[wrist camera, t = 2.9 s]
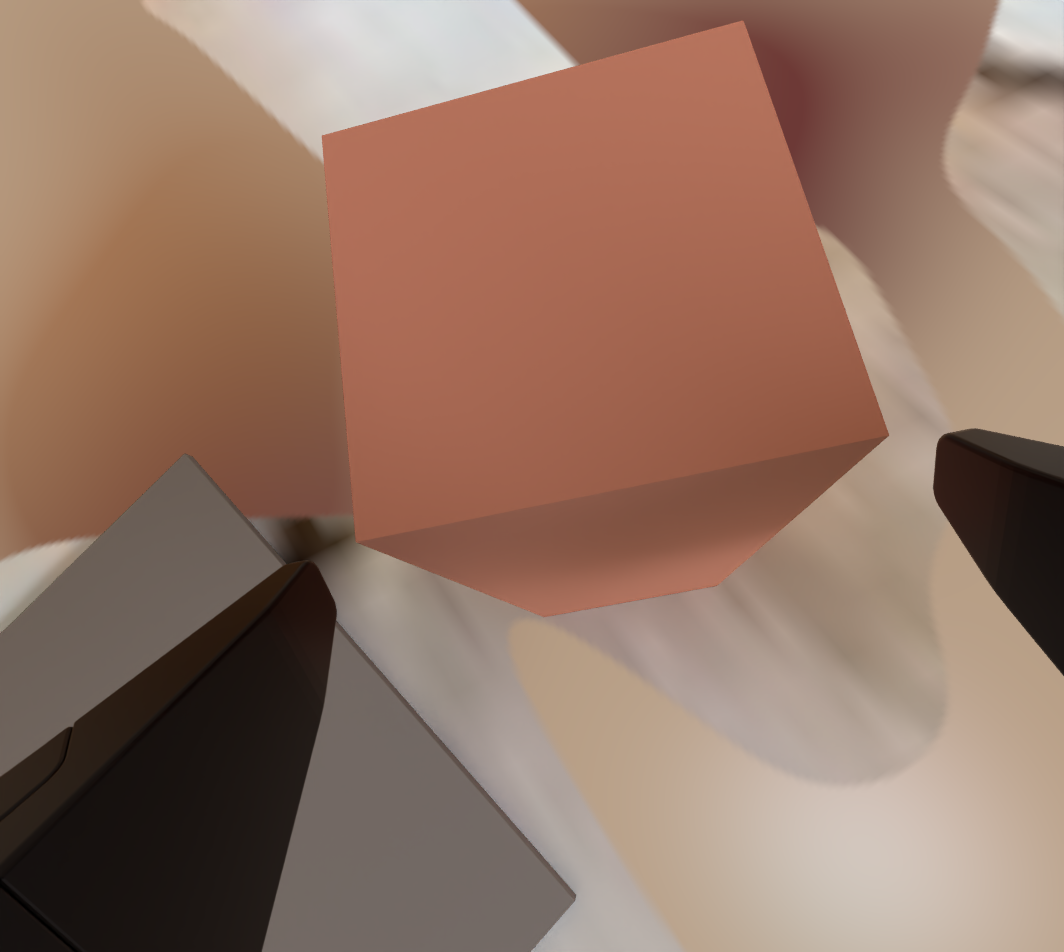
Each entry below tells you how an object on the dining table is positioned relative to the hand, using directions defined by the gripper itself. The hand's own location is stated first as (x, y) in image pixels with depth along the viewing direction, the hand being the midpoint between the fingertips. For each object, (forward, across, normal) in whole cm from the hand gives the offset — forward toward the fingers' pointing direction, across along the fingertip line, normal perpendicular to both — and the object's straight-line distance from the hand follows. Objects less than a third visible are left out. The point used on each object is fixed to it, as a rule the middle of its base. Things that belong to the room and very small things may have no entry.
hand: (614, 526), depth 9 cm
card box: (+8, 0, +5) cm, 10 cm away
